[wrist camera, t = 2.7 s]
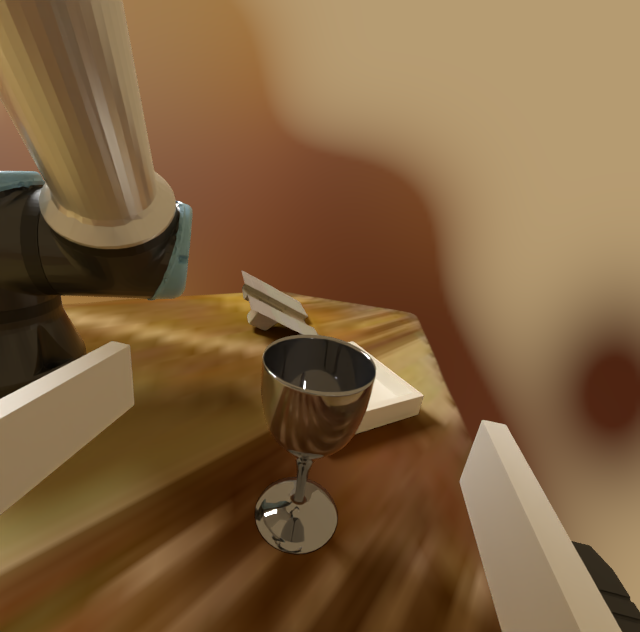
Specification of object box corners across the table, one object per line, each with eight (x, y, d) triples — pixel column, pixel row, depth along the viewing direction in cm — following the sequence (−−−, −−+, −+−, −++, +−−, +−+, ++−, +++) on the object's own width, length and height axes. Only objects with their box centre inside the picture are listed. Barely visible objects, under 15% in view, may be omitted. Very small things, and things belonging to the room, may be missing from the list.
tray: (261, 371, 48) (263, 353, 47) (350, 357, 56) (353, 341, 55) (313, 447, 36) (317, 425, 34) (418, 414, 44) (423, 395, 43)
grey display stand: (271, 325, 74) (221, 284, 65) (300, 300, 73) (253, 255, 64) (287, 374, 61) (227, 330, 52) (323, 344, 60) (268, 295, 51)
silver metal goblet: (253, 569, 24) (270, 395, 18) (246, 478, 31) (257, 333, 25) (355, 549, 26) (397, 389, 21) (327, 469, 33) (353, 334, 28)
